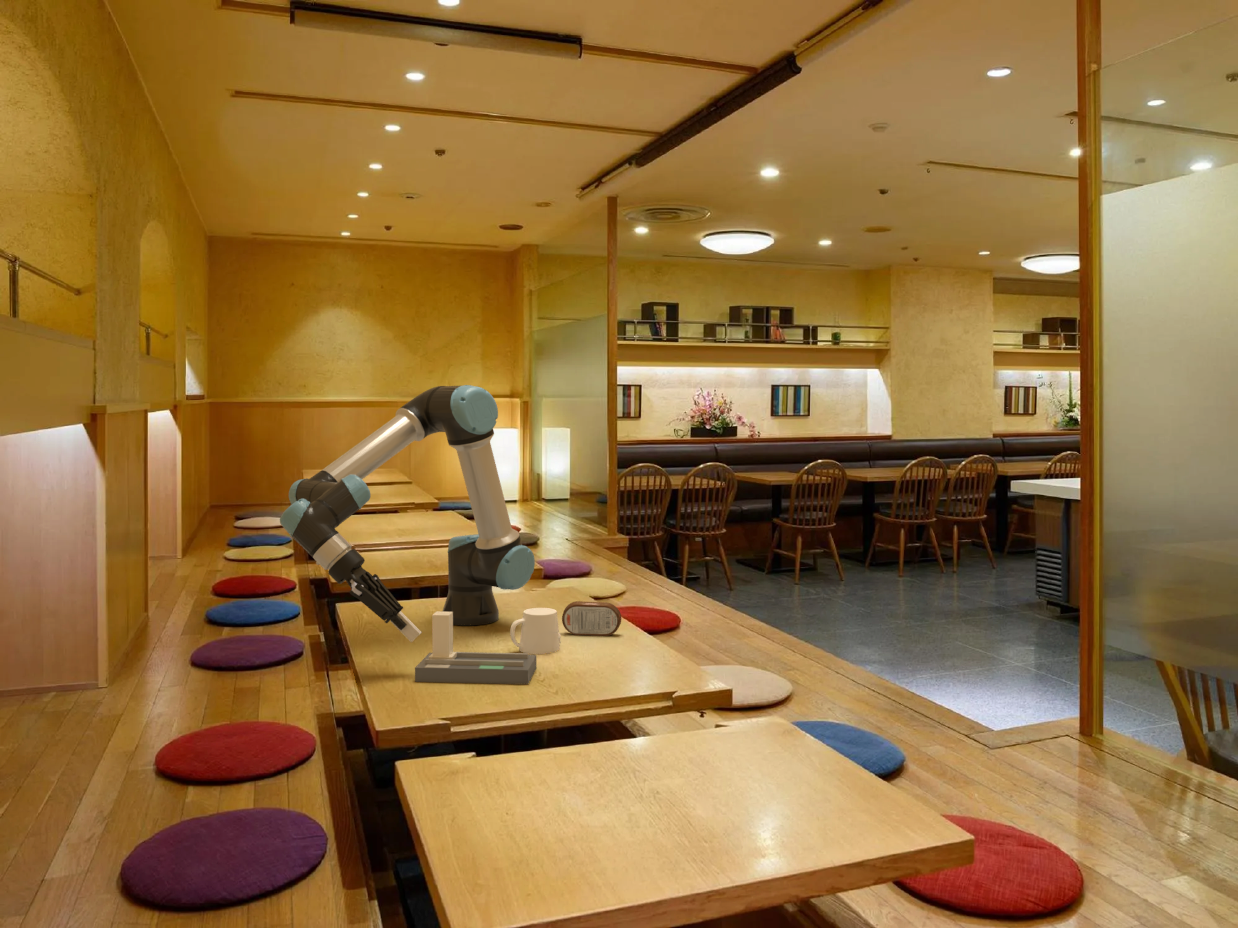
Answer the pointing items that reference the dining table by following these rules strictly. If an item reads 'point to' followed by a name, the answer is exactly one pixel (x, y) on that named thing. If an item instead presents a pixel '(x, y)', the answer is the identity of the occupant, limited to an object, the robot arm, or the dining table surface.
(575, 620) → the tin
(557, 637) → the mug
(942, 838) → the dining table surface
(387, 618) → the robot arm
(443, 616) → the slider tab
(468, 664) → the switch panel
